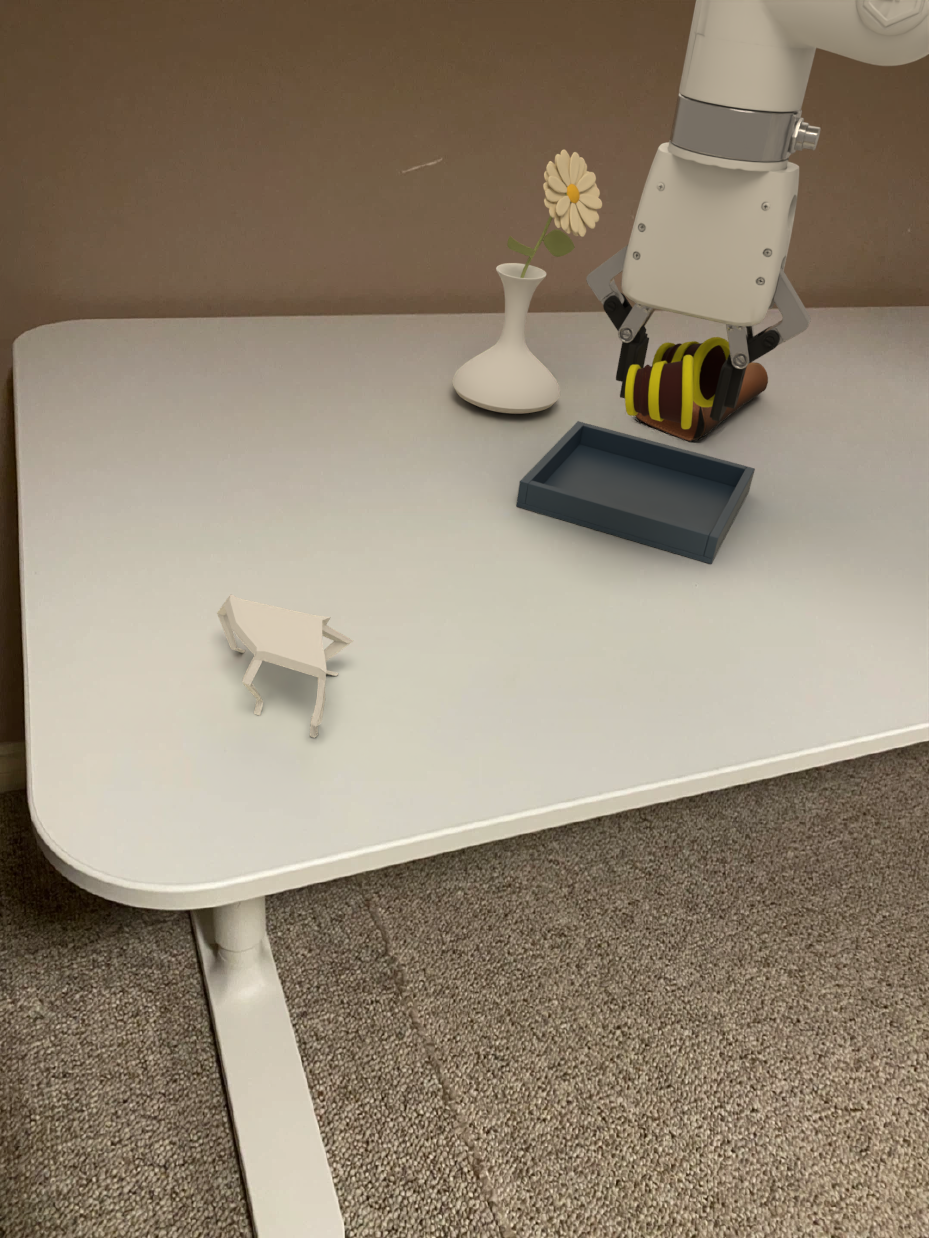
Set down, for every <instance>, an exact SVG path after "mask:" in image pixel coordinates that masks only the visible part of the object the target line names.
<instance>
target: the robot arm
mask: <svg viewBox="0 0 929 1238" xmlns="http://www.w3.org/2000/svg"><path fill="white" fill-rule="evenodd" d="M817 49H819V50H823V51H825V52H829V53H833V54H836V55H839V56H842V57H845V58H849V59H851V60H854V61H858V62H861V63H865V64H869V65H873V66H880V67H897V66H902V65H906V64H911V63H914V62H916V61H919V60H920V59H923V58H925V57H927V56H928V55H929V0H695V5H694V9H693V15H692V20H691V25H690V31H689V36H688V41H687V46H686V51H685V57H684V61H683V68H682V73H681V78H680V82H679V83H680V84H679V88H678V94H677V99H676V104H675V110H674V115H673V121H672V125H671V130H670V136H669V141H668V142H667V141H666V142H663V143H661V144H660V145H659V146H658V147H657V150H656V153H655V155H654V158H653V160H652V163H651V165H650V169H649V170H648V174H647V177H646V180H645V183H644V185H643V189H642V193H641V196H640V200H639V203H638V207H637V210H636V214H635V217H634V221H633V226H632V228H631V231H630V232H631V233H630V236H629V240H628V243H627V244H626V245H625V246H624V247H622V248H621V249H620V250H618V251H617V252H616V253H614V254H613V255H611V256H610V257H609V258H607V259H606V260H605V261H604V262H602V263H601V264H599V265H598V266H597V267H596V268H594V269H593V270H592V271H590V272H589V273H588V274H587V275H586V283H587V285H588V287H589V288H590V290H591V291H592V292H593V294H594V296H595V297H596V298H597V300H598V301H599V302H600V303H601V304H602V306H603V311H604V312H605V314H606V315H607V317H608V318H609V320H610V321H611V323H612V325H613V326H614V327H615V329H616V331H617V337H618V339H619V341H621V347H620V352H619V357H618V361H617V362H618V363H617V368H616V374H615V381H617V382H621V385H620V386H621V387H620V392H619V399H620V398H621V399H624V400H625V386H626V379H627V374H628V370H629V368H630V366H631V365H639V366H640V367H641V368H644V367H645V362H646V359H647V353H648V347H649V342H650V337H649V334H648V333H647V328H646V325H647V323H648V322H649V320H650V319H651V317H652V316H653V314H654V312H655V311H656V310H659V311H664V312H670V313H673V314H678V315H682V316H687V317H692V318H696V319H701V320H705V321H711V322H714V323H718V324H724V325H725V328H726V329H725V330H726V334H727V335H726V336H727V341H728V343H729V350H730V354H729V356H728V358H727V360H726V361H725V363H724V364H723V366H722V368H721V371H720V375H719V380H718V384H717V388H716V392H715V396H714V400H713V405H712V409H711V413H710V418H712V420H714V421H718V422H719V421H720V419H721V418H722V416H723V414H724V413H725V411H726V409H727V407H729V408H733V409H734V408H735V407H736V405H737V402H738V399H739V395H740V391H741V387H742V383H743V379H744V375H745V371H746V367H747V365H748V364H749V363H751V362H755V361H756V360H758V359H759V358H762V357H763V356H764V355H766V354H768V353H770V352H771V351H774V349H776V348H777V347H778V346H780V345H782V344H783V343H786V342H788V341H789V340H791V339H794V338H795V337H797V336H798V335H800V334H802V333H803V332H805V331H807V329H808V327H809V325H810V323H811V320H812V319H811V316H810V314H809V311H808V310H807V309H806V306H805V305H804V303H803V302H802V300H801V298H800V296H799V294H798V293H797V292H796V289H795V288H794V286H793V284H792V282H791V281H790V279H789V278H788V276H787V274H786V273H785V266H786V263H787V257H788V253H789V248H790V244H791V239H792V234H793V228H794V222H795V216H796V210H797V203H798V195H799V183H800V166H799V165H798V164H797V163H795V162H791V161H789V159H790V158H789V157H790V156H791V155H793V154H795V153H796V151H798V152H799V151H800V152H802V151H803V150H808V151H815V150H816V148H817V146H818V143H819V142H818V141H819V138H820V134H821V130H822V129H821V128H822V127H819V126H814V125H810V123H809V122H804V121H805V118H804V117H802V113H803V110H802V107H803V102H804V99H805V95H806V92H807V91H806V90H807V86H808V83H809V78H810V75H811V71H812V66H813V63H814V59H815V54H816V50H817ZM619 274H621V283H620V284H621V285H620V286H621V291H622V292H621V291H620V289H618V288H619V287H618V285H617V284H616V281H615V280H616V276H618V275H619ZM628 299H629V300H630V301H632V302H633V303H634V304H633V306H632V305H631V303H630V302H629V300H628ZM774 306H776V307H777V309H778V311H779V312H780V314H781V316H782V319H781V320H779V321H777V322H776V323H775V324H773V325H771V326H768V327H766V328H765V329H763V330H762V331H759V332H758V333H756V334H755V330H754V329H755V328H754V326H756V325H760V324H761V323H762V322H763V321H764V320H765V318H766V317H767V314H768V311H769V310H772V309H773V308H774Z"/></svg>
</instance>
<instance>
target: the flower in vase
mask: <svg viewBox="0 0 929 1238" xmlns="http://www.w3.org/2000/svg"><path fill="white" fill-rule="evenodd" d="M543 178H544V181H545V182H544V183H543V184H542V188H543V191H544V194H545V197H544V198H543V203H544V206H545V207H546V208H547V209H548V214H549V217H548V218H547V221H546V223H545V225H544V228H543V230H542V233H541V235H540V236H539V239H538V240H537V242H536V244H535V246H534V248H532V247H529V246H527V245H525V244H523V243H521V242H519V241H517V240H516V239H515V238H514V237H512V236H511V235H509V236H508V239H507V243H506V245H507V248H508V249H509V250H511V251H512V252H516V253H518V254H520V255H524V256H526V257H528V258H527V260H526V262H525V263H519V262H508V263H507V262H506V263H501V264H498V265H497V266H496V267H495V270H496V272H497V274H498V276H499V279H500V281H501V282H502V287H503V294H504V317H503V324H502V330H501V333H500V336H499V338H498V340H497V341H496V343H494V344H493V345H492V346H491V347H489V348H488V349H486V350H484V351H483V352H481V353H479V354H477V355H476V356H474V357H472V358H470V359H469V360H467V361H466V362H465V363H464V364H462V365H461V366H460V367H459V368H458V369H457V370H456V372H455V374H454V376H453V377H452V380H451V383H452V386H453V388H454V390H455V392H456V394H457V395H458V396H459V397H460V398H461V399H462V400H464V401H466V402H468V403H469V404H471V405H474V406H475V407H476V406H477V407H479V408H481V409H484V410H488V411H491V412H496V413H502V414H515V415H516V414H529V413H530V414H531V413H535V412H537V413H538V412H541V411H544V410H547V409H549V408H551V407H552V406H553V405H554V404H556V402H558V400H559V399H560V396H561V390H560V384H559V382H558V380H557V379H556V377H555V376H554V375H553V374H552V372H551V370H549V368H547V366H545V365H544V363H542V362H541V361H540V360H539V359H538V358H537V357H536V356H535V355H534V354H533V353H532V351H531V350H530V349H529V347H528V346H527V342H526V323H527V317H528V313H529V309H530V304H531V301H532V298H533V296H534V293H535V292H536V289H537V287H538V286H539V285H540V283H541V282H543V280H544V279H545V278H546V276H548V275H547V271H545V270H544V269H542V268H540V267H538V266H535V265H531V262H532V260H533V258H534V256H535V255H536V253H537V251H538V249H539V248H540V246H541V244H542V242H543V245H544V247H545V248H546V250H548V252H549V253H550V254H551V255H552V256H553V257H554V258H555V257H556V258H560V257H564V256H566V255H568V254H569V253H572V251H574V249H575V248H576V247H575V244H574V242H573V240H572V239H571V237H570V236H569V235H570V234H571V233H572V235H573V236H575V237H579V236H580V237H581V238H584V237H585V236H586V233H587V227H588V228H589V229H592V230H593V229H595V228H596V223H598V222H599V221H600V215H599V213H598V210H600V209H601V208H602V207H603V202H602V199H601V198H599V197H600V195H601V191H600V189H599V188H598V185H597V183H596V181H597V177H596V174H595V172H593V171H588V164H587V162H586V160H585V158H583V157H580V154H579V153H578V152H577V151H574V152H572V154H571V156H570V154H569V152H568V151H567V150H566V149H562V150H561V151H560V154H559V153H556V154H555V156H554V162H553V161H551V160H550V161H548V163H547V164H546V167H545V171H544V173H543ZM553 219H554V220H553ZM552 220H553V222H554V225H555V227H556V228H557V229H556V228H554V229H553V230H551V231H550V232H548V233H547V231H548V229H549V227H550V225H551V223H552ZM560 229H562V230H563V231H562V230H560Z"/></svg>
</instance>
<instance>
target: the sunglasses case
mask: <svg viewBox="0 0 929 1238" xmlns="http://www.w3.org/2000/svg"><path fill="white" fill-rule="evenodd" d="M768 383H769V376H768V372H767V370H766V368H765V367H764V365H762V364H761V363H760V362H756V361H753V362H751V363H749V364H748V365H747V367H746V371H745V375H744V379H743V383H742V387H741V391H740V395H739V399H738V402H737V405H736V407H735V408H734V409H733V408H729V407H727V409H726V411H725V413H724V414H723V416H722V418H721V419H720V421H719V422H718V421H714V420H712V418H710V413H711V409H712V407H701V406H699V405H697V404H696V403H695V402H694V401H693V409H692V422H691V427H690V428H689V429H682V427H681V423H677V422H673V421H670V420H666V419H664V420H663V421H658V420H654V419H652V418H651V417H650V415H647V416H645V417H644V416H642V414H641V413H638V414H637V415H636V416H634V417H635V418H636V419H637V420H638V421H640V422H642V423H644V424H646V425H648V426H650V427H652V428H653V429H655V430H658V431H659V432H663V433H665V434H668V435H670V436H673V437H676V438H678V439H681V440H684V441H687V442H694V441H695V442H696V441H697V440H699V439H701V438H702V437H705V436H707V435H708V434H710V433H711V432H713V430H714V429H715V428H717V426H719V425H720V424H721V423H722V422H723V421H725V420H726V419H727V418H728V417H729V416H731V415H732V414H734V413H735V412H737V411H738V410H739V409H741V408H742V407H744V405H745V404H747V403H749V402H750V401H752V400H753V399H755V398H756V397H757V396H759V395H760V394H762V393H764V392H765V391H766V389H767V388H768Z"/></svg>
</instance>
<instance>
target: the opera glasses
mask: <svg viewBox="0 0 929 1238" xmlns="http://www.w3.org/2000/svg"><path fill="white" fill-rule="evenodd" d="M729 354H730V350H729V343H728V339H725V338H723V337H720V336H712V337H709V338H706V339H705V340H704V341H703V342H699V341H696V340H691V341H685V342H683V343H674V342H667V341H666V342H664V343H661V345H659V346H658V348H657V349H656V351H655V353H654V356H653V360H652V363H651V365H650V364H645V365H644V368H641V367H640V366H639V365H631V366H630V368H629V370H628V374H627V379H626V386H625V399H624V406H625V411H626V414H627V415H628V416H629V417H635V416H636V415H637V414H638V413H641V414H642V416H644V417H645V416H647V415H650V417H651V418H652V419H654V420H658V421H663V420H664V419H666V420H670V421H673V422H677V423H681V427H682V429H689V428H690V427H691V422H692V409H693V401H694V402H695V403H696V404H697V405H699V406H701V407H712V405H713V400H714V396H715V392H716V388H717V384H718V380H719V375H720V371H721V368H722V366H723V364H724V363H725V361H726V360H727V358H728V356H729Z"/></svg>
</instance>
